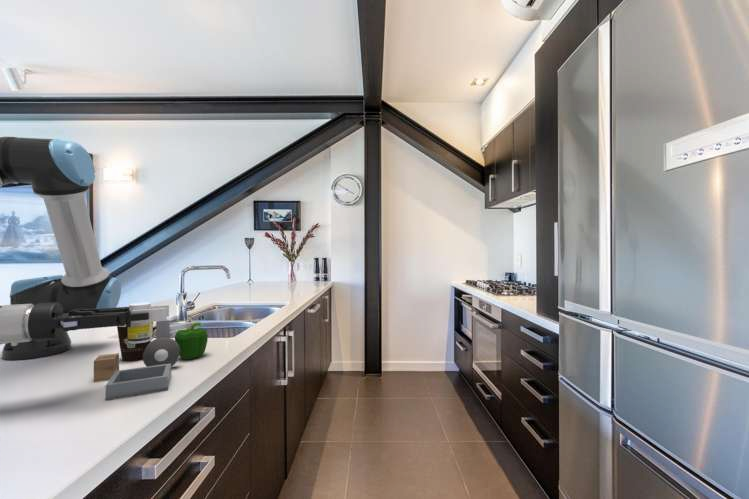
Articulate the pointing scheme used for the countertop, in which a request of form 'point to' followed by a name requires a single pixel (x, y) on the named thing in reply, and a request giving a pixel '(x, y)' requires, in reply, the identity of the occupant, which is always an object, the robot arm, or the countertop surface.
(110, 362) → the wooden block
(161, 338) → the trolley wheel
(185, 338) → the bell pepper
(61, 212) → the robot arm
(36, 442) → the countertop surface
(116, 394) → the tray
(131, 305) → the supplement bottle
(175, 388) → the countertop surface
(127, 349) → the coffee mug
